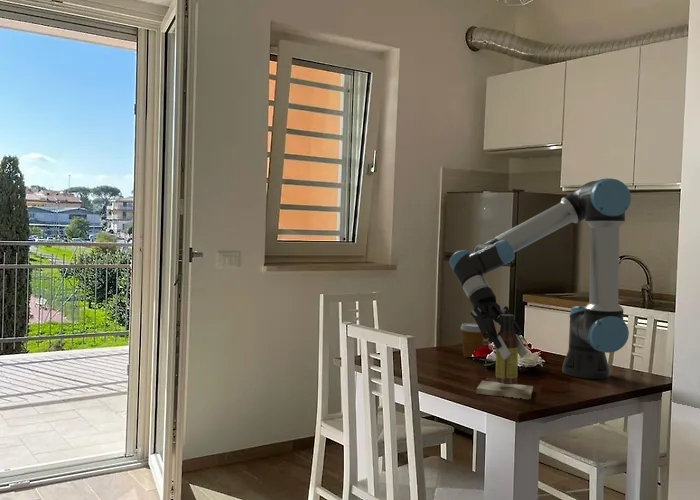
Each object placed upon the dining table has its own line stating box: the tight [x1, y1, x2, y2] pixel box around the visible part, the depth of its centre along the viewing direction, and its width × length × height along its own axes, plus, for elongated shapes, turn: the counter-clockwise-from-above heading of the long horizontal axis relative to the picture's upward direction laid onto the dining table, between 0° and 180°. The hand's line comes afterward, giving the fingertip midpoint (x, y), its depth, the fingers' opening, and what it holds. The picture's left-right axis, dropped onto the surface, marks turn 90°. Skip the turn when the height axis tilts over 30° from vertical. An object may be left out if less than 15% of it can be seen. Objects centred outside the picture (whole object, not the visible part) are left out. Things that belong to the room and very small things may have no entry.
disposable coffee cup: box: [459, 322, 485, 358], centre depth 249 cm, size 10×10×12 cm
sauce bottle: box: [495, 313, 519, 384], centre depth 194 cm, size 7×6×20 cm
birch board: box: [476, 380, 534, 400], centre depth 195 cm, size 15×11×2 cm
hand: (515, 356), depth 191 cm, fingers closed on sauce bottle, 6 cm apart
